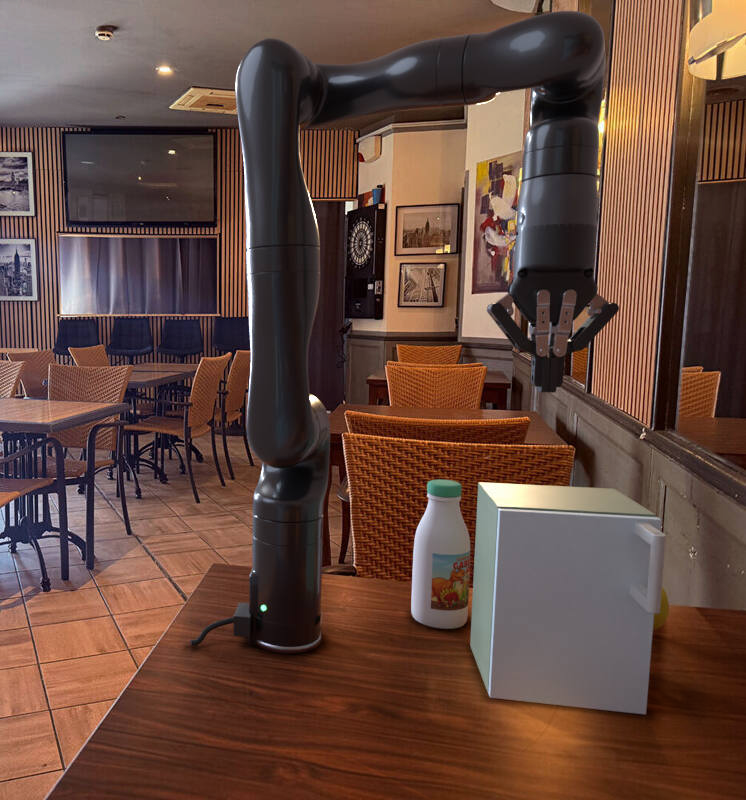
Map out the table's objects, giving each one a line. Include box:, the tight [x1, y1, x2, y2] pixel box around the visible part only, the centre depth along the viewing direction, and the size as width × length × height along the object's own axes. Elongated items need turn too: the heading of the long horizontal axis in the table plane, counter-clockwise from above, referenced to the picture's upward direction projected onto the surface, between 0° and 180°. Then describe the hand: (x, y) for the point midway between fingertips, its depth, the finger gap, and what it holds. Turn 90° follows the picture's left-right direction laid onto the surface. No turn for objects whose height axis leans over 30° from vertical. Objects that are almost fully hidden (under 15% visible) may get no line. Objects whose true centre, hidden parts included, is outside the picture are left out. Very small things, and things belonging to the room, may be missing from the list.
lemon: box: [653, 587, 670, 631], centre depth 95 cm, size 6×6×8 cm
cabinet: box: [469, 481, 657, 693], centre depth 82 cm, size 12×16×22 cm
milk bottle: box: [410, 479, 471, 630], centre depth 98 cm, size 8×8×20 cm
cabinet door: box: [487, 508, 667, 715], centre depth 73 cm, size 6×16×22 cm, turn 78°
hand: (545, 391), depth 74 cm, fingers closed
